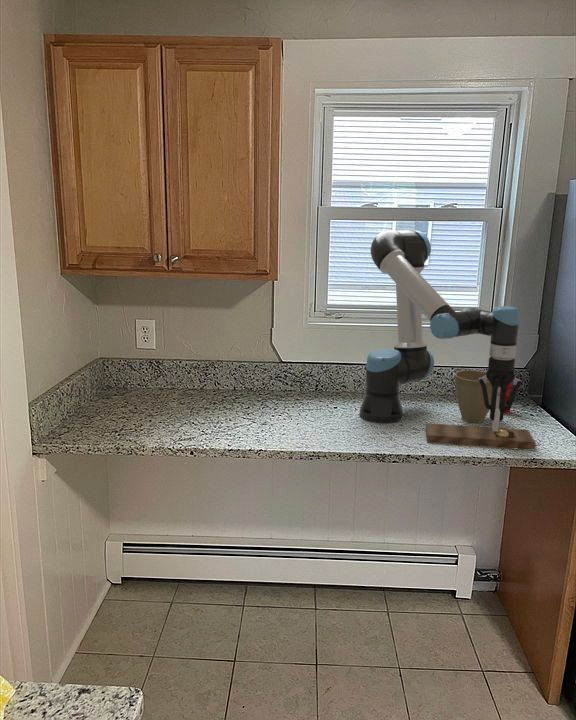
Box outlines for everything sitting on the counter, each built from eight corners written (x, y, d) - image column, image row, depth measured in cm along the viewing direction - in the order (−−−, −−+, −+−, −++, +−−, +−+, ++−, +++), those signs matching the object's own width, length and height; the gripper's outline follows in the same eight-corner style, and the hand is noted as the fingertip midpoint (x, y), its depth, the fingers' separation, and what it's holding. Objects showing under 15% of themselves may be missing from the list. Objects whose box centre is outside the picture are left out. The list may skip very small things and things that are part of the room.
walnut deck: (426, 442, 182) (427, 435, 181) (425, 430, 192) (426, 423, 192) (534, 450, 176) (535, 442, 176) (527, 437, 187) (527, 429, 186)
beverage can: (507, 409, 214) (511, 370, 210) (512, 415, 207) (516, 374, 204) (491, 408, 214) (494, 369, 211) (495, 414, 208) (499, 374, 204)
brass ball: (494, 441, 181) (499, 430, 180) (492, 436, 185) (497, 425, 184) (507, 445, 181) (512, 434, 180) (504, 440, 185) (509, 429, 184)
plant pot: (484, 429, 193) (488, 384, 189) (443, 419, 203) (447, 375, 199) (502, 418, 204) (507, 375, 200) (463, 409, 213) (466, 367, 210)
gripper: (481, 359, 174) (475, 432, 180) (527, 361, 172) (519, 435, 178) (478, 353, 182) (472, 424, 187) (522, 355, 179) (514, 427, 185)
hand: (495, 429), depth 182 cm, fingers closed
